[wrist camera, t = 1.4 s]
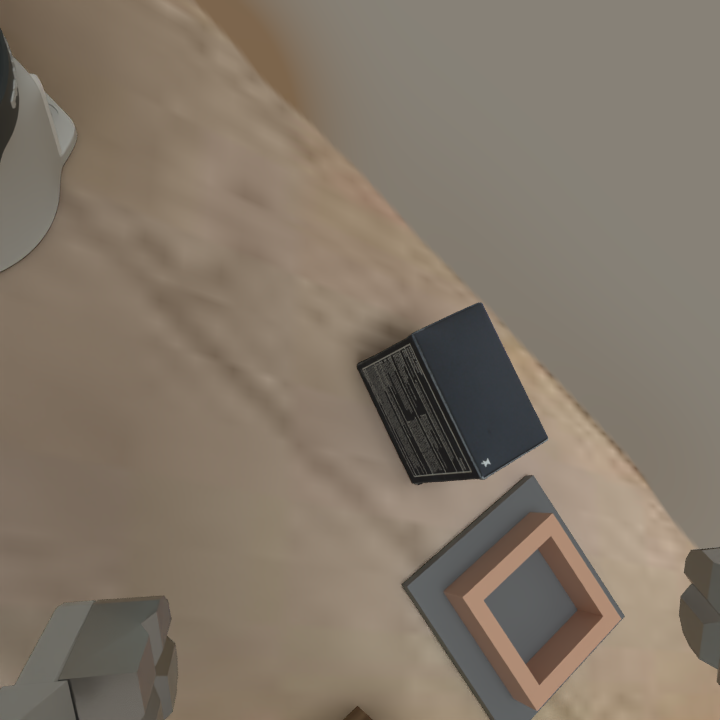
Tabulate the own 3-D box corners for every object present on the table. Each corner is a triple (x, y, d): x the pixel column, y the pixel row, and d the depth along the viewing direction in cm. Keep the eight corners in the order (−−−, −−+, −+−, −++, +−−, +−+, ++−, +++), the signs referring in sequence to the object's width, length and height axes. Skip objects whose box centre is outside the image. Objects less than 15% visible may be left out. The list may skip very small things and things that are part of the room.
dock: (401, 584, 49) (424, 592, 45) (526, 475, 54) (555, 474, 51) (502, 737, 49) (533, 757, 46) (616, 614, 55) (652, 623, 51)
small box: (476, 449, 53) (555, 440, 44) (412, 487, 51) (481, 485, 41) (420, 333, 54) (486, 297, 44) (353, 364, 51) (408, 334, 41)
